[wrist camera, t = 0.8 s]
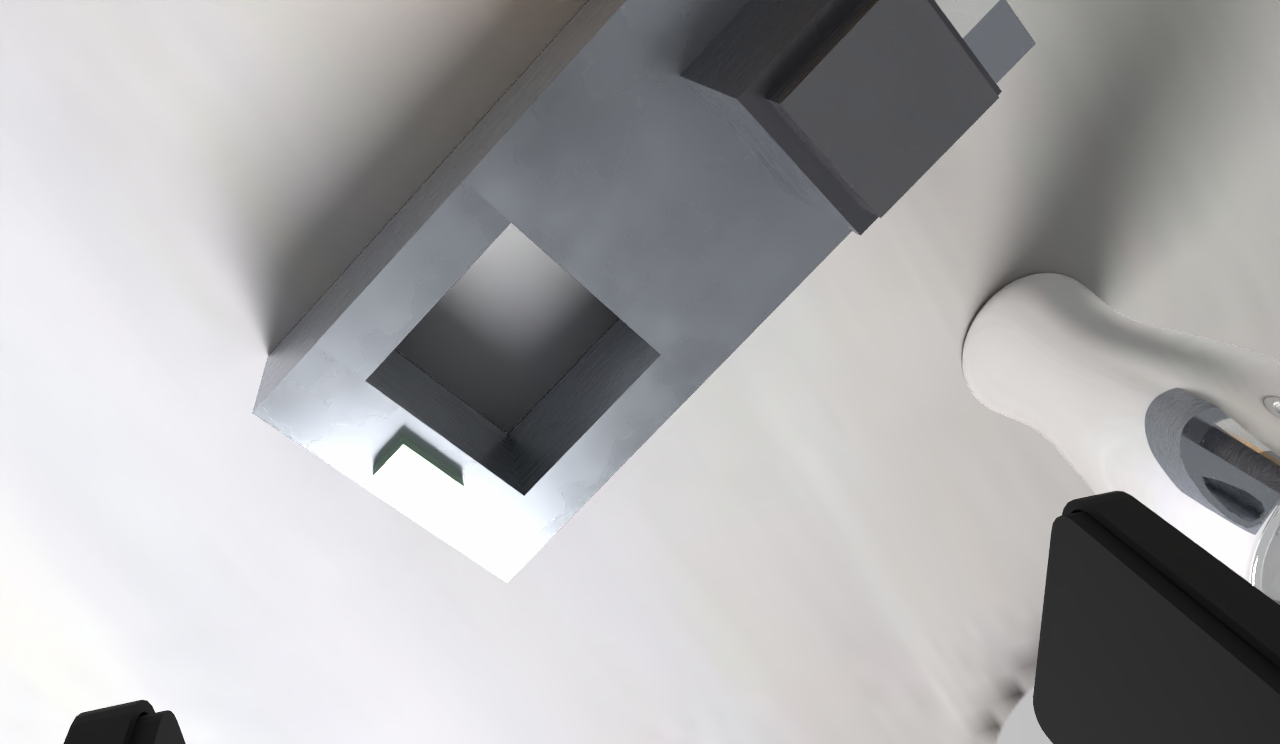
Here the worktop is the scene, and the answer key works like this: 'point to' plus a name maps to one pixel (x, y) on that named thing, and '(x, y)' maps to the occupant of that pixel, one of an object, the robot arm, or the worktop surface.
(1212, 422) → the beer glass
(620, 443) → the power strip
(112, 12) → the worktop surface
